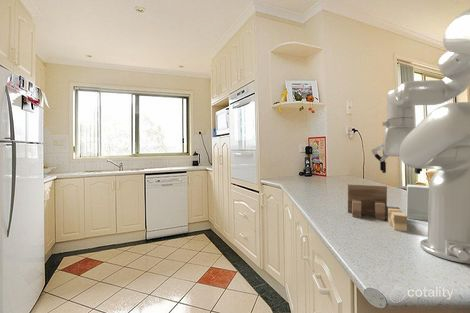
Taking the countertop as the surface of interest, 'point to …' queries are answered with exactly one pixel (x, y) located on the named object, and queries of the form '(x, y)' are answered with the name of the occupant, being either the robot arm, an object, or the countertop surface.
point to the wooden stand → (367, 200)
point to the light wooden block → (396, 218)
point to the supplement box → (417, 202)
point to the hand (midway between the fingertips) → (400, 173)
